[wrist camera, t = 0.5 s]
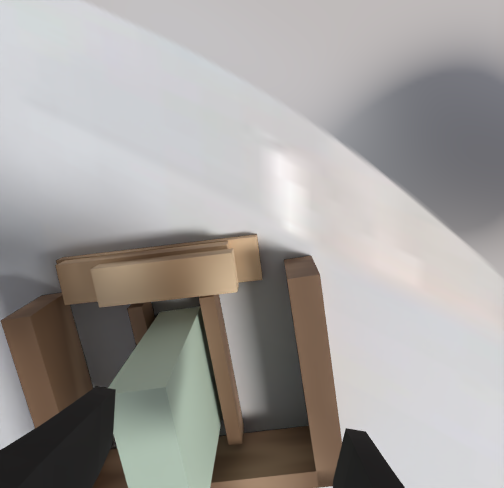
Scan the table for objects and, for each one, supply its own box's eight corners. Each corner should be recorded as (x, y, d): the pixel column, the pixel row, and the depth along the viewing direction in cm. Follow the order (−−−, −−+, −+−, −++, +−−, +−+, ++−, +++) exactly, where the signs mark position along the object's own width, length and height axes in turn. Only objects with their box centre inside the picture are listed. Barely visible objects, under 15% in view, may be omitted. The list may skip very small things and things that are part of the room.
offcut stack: (74, 295, 23) (46, 316, 20) (65, 256, 22) (34, 270, 19) (262, 274, 22) (261, 292, 19) (257, 232, 21) (255, 244, 18)
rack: (91, 465, 25) (63, 514, 21) (41, 295, 22) (0, 320, 19) (335, 436, 24) (347, 484, 20) (311, 255, 21) (320, 274, 18)
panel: (184, 417, 24) (143, 546, 16) (159, 311, 22) (102, 395, 14) (222, 413, 24) (201, 540, 16) (200, 305, 22) (165, 387, 14)
